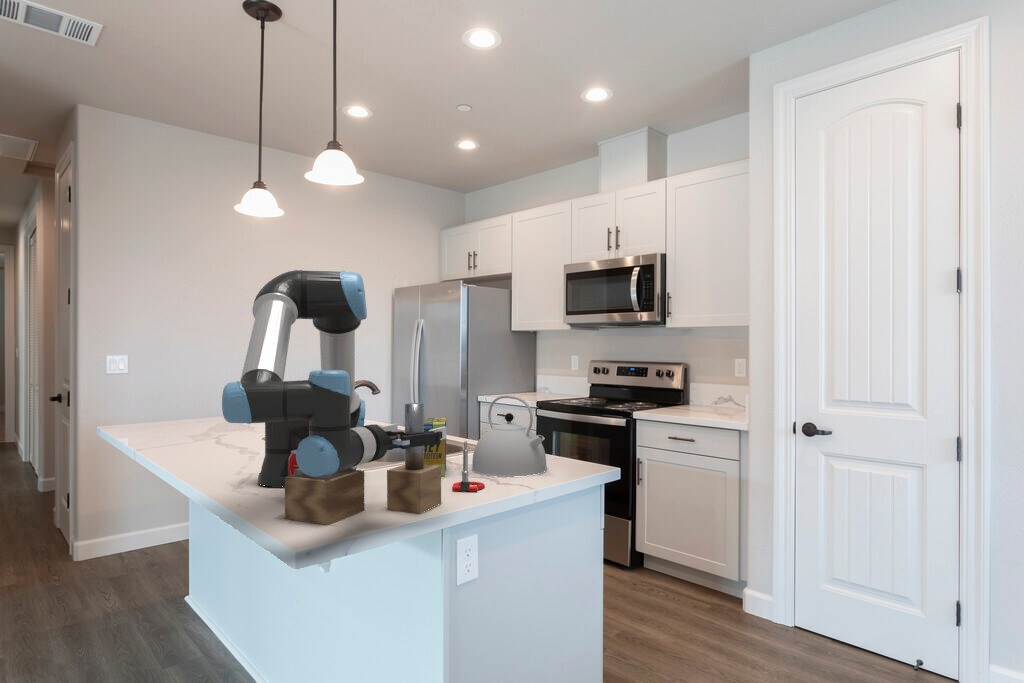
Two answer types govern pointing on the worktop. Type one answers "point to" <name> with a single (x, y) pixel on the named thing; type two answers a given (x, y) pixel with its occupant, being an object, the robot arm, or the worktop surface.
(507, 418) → the kettle
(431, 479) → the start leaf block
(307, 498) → the wooden block with socket
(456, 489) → the tow hook
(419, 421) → the hinge pin
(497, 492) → the worktop surface
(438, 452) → the protein box
